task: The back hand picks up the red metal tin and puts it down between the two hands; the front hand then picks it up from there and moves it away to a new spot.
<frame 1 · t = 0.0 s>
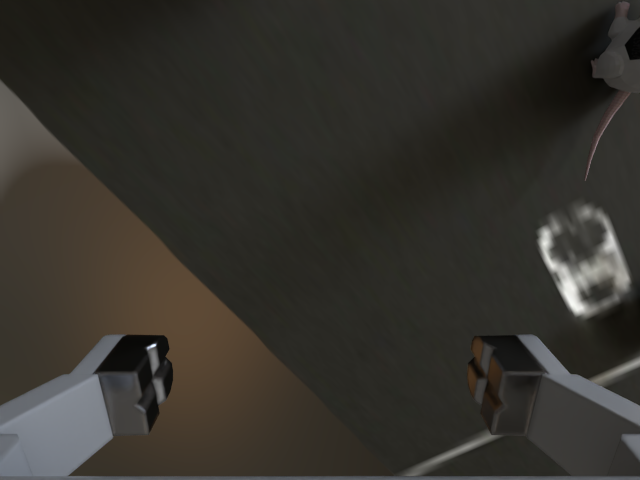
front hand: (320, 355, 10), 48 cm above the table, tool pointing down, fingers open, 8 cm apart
toy: (604, 90, 53), on the table
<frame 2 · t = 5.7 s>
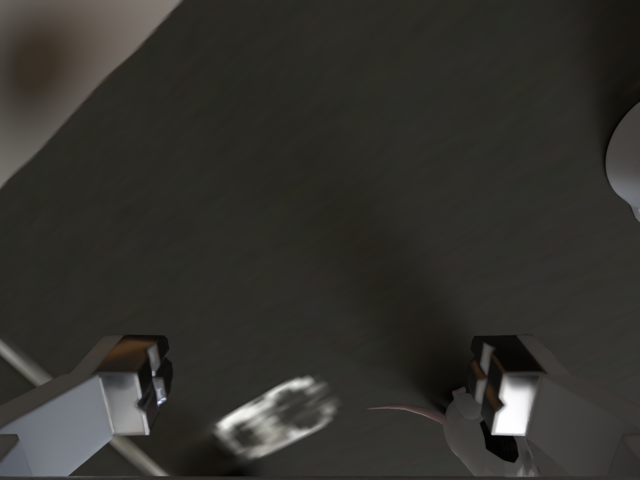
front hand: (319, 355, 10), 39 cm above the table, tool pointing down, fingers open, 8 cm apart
toy: (438, 400, 61), on the table
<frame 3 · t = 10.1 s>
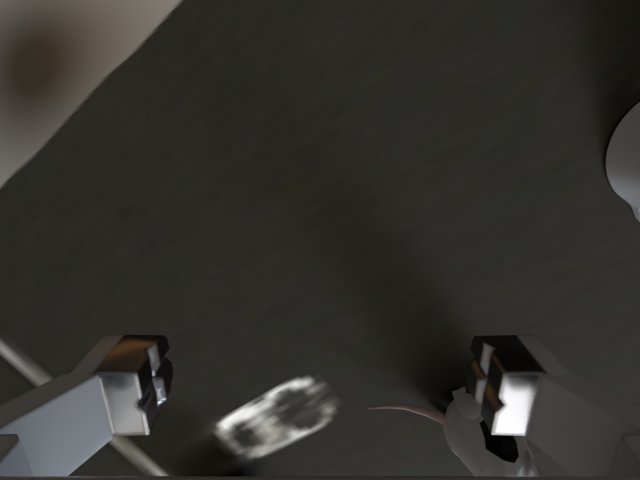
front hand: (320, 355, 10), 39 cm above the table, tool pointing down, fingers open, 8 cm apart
toy: (438, 400, 61), on the table
when the back hand's fingers open (2 cm above the table, at t = 14.4 s): tin drops 1 cm, on the table.
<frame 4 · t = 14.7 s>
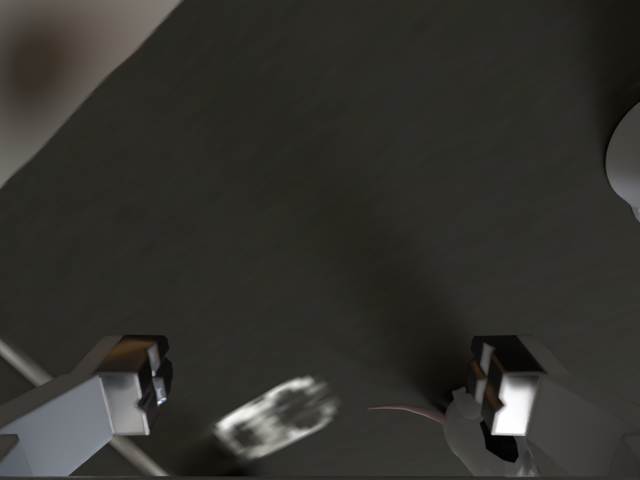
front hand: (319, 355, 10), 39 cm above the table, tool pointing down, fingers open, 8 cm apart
toy: (438, 400, 61), on the table
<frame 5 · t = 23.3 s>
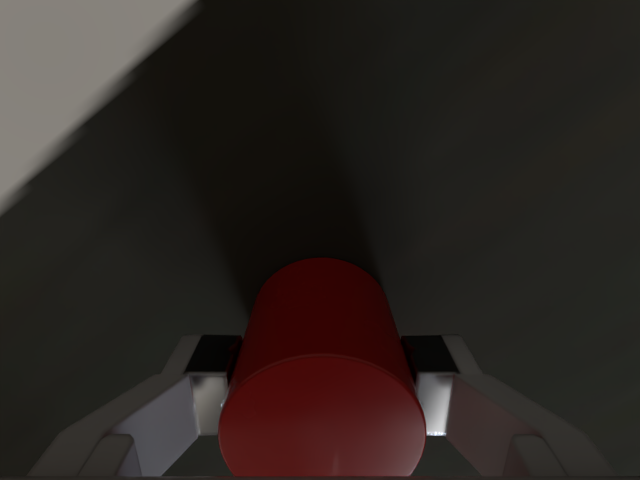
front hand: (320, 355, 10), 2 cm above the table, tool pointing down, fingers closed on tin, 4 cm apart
tin: (321, 319, 12), on the table, touching front hand
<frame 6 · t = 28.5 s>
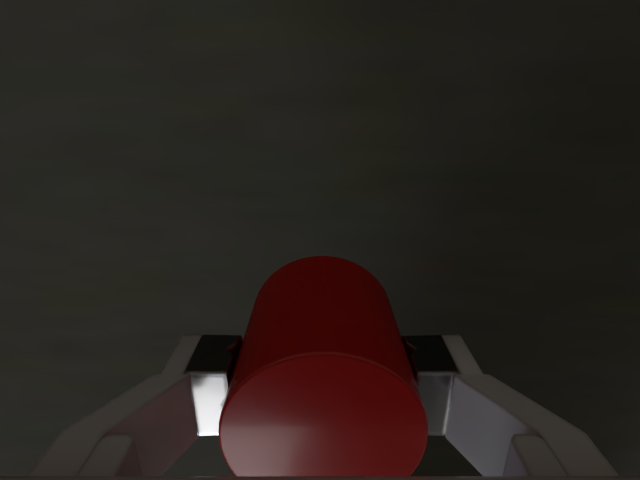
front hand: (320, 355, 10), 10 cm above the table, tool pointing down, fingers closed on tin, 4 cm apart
tin: (322, 318, 12), point 8 cm above the table, touching front hand
when the front hand's fingers open (3 cm above the table, at t = 34.0 s): tin drops 1 cm, on the table.
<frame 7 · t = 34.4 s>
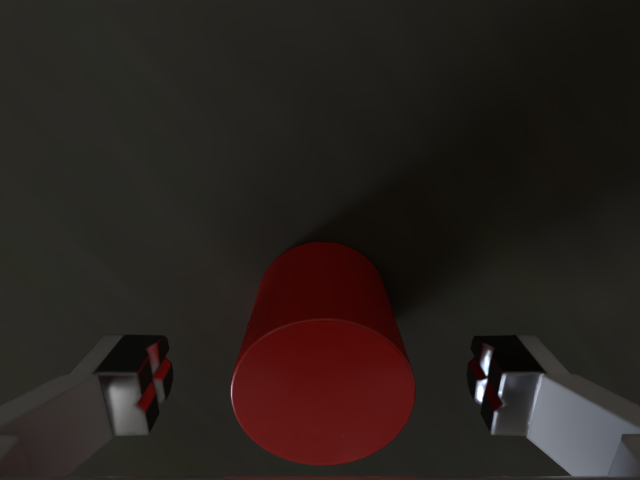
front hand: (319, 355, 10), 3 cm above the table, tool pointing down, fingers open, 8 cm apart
tin: (322, 299, 13), on the table
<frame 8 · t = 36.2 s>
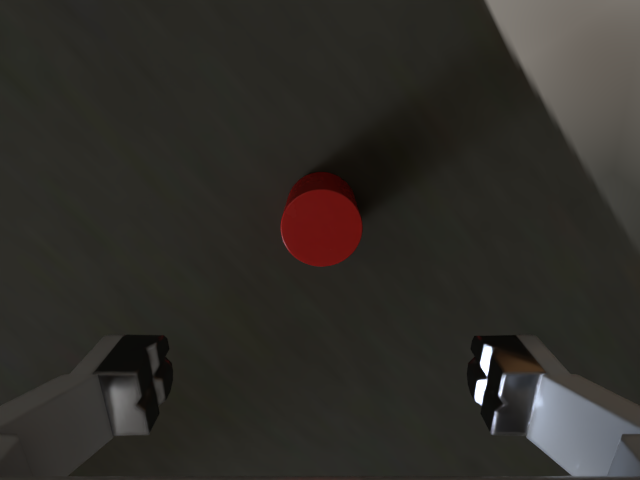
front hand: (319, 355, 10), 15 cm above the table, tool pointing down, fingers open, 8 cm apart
tin: (321, 205, 24), on the table
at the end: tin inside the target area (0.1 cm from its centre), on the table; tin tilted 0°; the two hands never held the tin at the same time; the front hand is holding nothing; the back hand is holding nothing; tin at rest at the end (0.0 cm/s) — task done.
